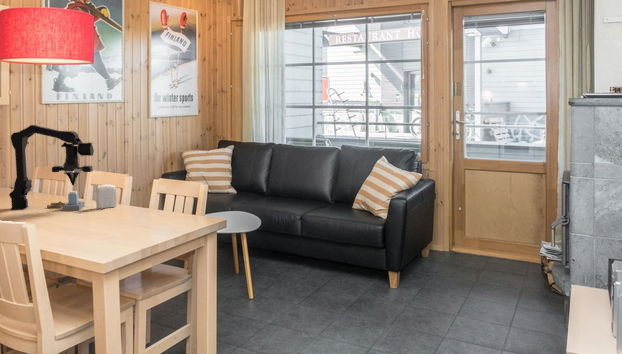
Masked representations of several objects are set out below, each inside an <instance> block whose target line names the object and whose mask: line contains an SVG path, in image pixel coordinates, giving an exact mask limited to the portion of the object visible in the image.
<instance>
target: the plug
mask: <svg viewBox="0 0 622 354" xmlns="http://www.w3.org/2000/svg"><path fill="white" fill-rule="evenodd" d="M67 199H68V200H67V203H69V205H78V204H79V202H80V201H79V192H78V191H77V190H72V191H71V190H70V191H69V192H68V194H67Z"/></svg>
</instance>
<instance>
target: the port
mask: <svg viewBox="0 0 622 354" xmlns="http://www.w3.org/2000/svg"><path fill="white" fill-rule="evenodd" d="M84 207H85V201H79V204H78V205H69V203H68V202H65V205H63V206H62V211H63V212H65V211H66V212H69V211H76V212H77V211H81V210H82V209H83V208H84Z"/></svg>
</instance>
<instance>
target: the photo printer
mask: <svg viewBox="0 0 622 354" xmlns="http://www.w3.org/2000/svg"><path fill="white" fill-rule="evenodd" d="M95 200H96V201H95V202H96V203H95V204H96V209H97V210H98V209H99V210H100V209H109V208H116V207H117V188H116V185H114V184H101V185H99V186H96V188H95Z"/></svg>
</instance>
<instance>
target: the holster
mask: <svg viewBox="0 0 622 354" xmlns="http://www.w3.org/2000/svg"><path fill="white" fill-rule="evenodd" d="M65 204H66V202H62V201H60V200H59V201H58V202H51V203H50V204H47V205H46V209H63V207H62V206H63V205H65Z"/></svg>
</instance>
